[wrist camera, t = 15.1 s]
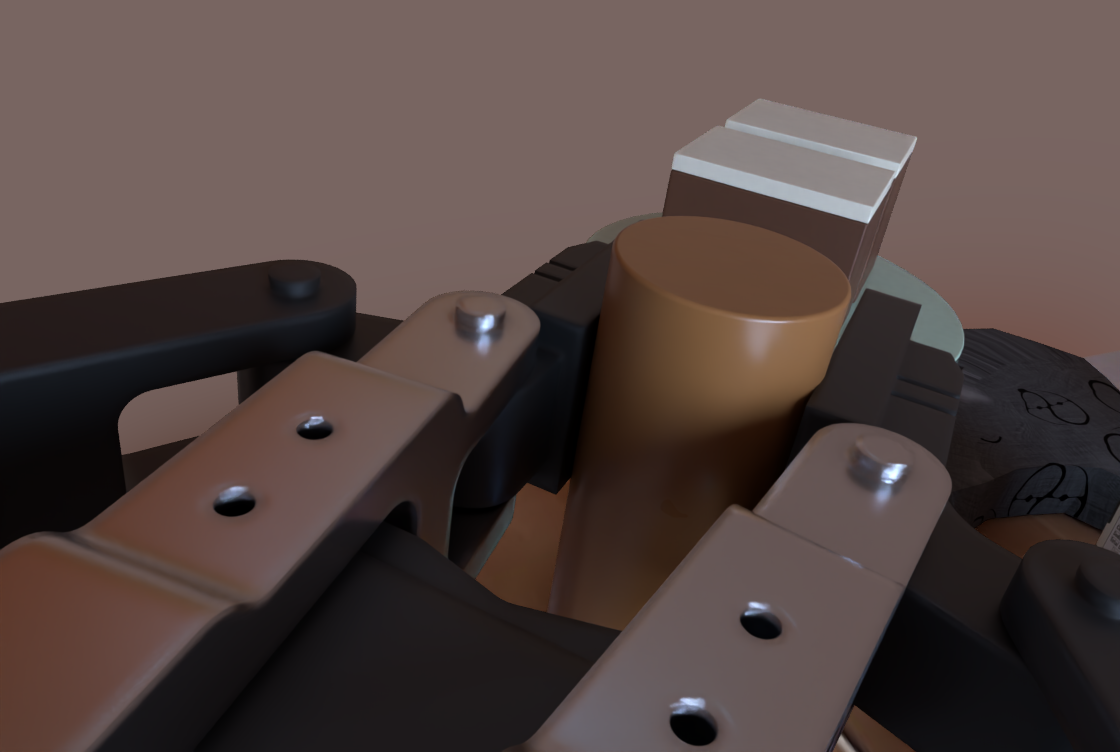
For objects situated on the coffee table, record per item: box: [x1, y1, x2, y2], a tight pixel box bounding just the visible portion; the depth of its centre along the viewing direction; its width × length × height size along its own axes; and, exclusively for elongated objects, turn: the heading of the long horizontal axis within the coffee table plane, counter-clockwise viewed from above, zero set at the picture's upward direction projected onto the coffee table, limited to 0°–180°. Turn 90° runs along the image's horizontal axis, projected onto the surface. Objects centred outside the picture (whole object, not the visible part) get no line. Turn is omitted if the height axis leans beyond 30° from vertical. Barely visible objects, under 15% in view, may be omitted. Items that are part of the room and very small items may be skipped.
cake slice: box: [725, 99, 917, 303], centre depth 40 cm, size 5×7×6 cm
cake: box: [662, 126, 895, 325], centre depth 35 cm, size 5×7×6 cm
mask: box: [945, 328, 1120, 530], centre depth 66 cm, size 21×5×28 cm
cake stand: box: [586, 213, 965, 363], centre depth 44 cm, size 16×16×20 cm
